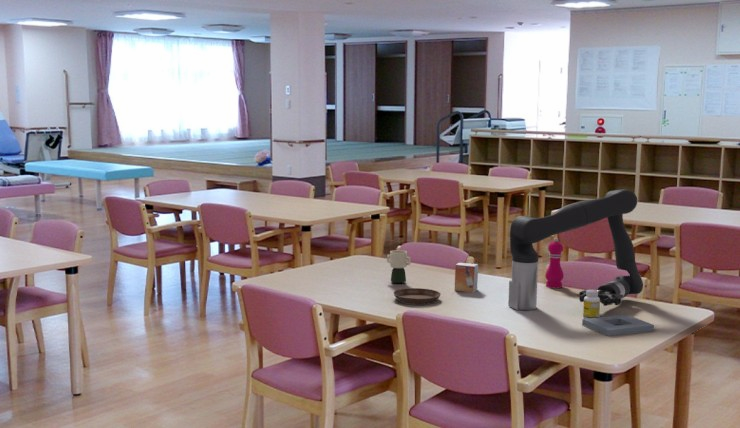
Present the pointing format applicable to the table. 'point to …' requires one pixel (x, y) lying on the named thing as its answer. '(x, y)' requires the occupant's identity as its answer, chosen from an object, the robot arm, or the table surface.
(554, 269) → the pepper mill
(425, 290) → the plant saucer
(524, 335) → the table surface
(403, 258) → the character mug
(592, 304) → the supplement bottle
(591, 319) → the hole board
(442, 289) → the table surface
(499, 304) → the table surface
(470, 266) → the small box
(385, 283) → the table surface
